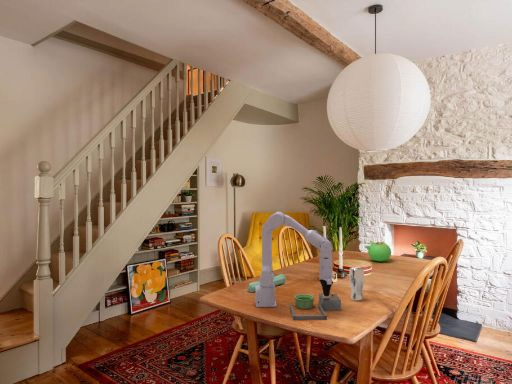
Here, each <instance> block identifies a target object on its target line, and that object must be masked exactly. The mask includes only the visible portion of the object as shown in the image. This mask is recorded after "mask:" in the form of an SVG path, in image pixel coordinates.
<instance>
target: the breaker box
mask: <svg viewBox="0 0 512 384" xmlns="http://www.w3.org/2000/svg"><path fill="white" fill-rule="evenodd" d="M322 295H324V294H323V292H322V293H319V292H318V304H321V306H322V308H323V310H324V311H342V300H341V298H340V297H339V295H338V294H337V293H334V292H331V293H330V294H329V296H330V298H323V297H322Z"/></svg>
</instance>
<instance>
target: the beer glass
mask: <svg viewBox="0 0 512 384" xmlns="http://www.w3.org/2000/svg"><path fill="white" fill-rule="evenodd" d="M348 274H349V275H348V276H349V286H350V291H351V292H350V300H352V301H356V302H361V301H364V296H363V291H364V290H363V289H364V282H365V272H364V267H361V266H351V267H349V273H348Z"/></svg>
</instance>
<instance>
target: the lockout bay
mask: <svg viewBox="0 0 512 384" xmlns="http://www.w3.org/2000/svg"><path fill="white" fill-rule="evenodd" d="M317 306H318V307H317V308H318V309H319V312H320V314H317V315H316V314H314V315H313V314H311V315H308V314H307V315H304V314H303V315H301V314H300V315H299V314H298V315H296V313H295V311H294V307H293V304H289V310H290V314H291V317H292V320H293V321H308V320H309V321H310V320H311V321H315V320H316V321H318V320H319V321H322V320H324V321H325V320H326V321H327V320H328V316H327V314H326V312H325V310H323V308H322V306H321V304H319V303H318V305H317Z"/></svg>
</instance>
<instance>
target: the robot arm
mask: <svg viewBox="0 0 512 384" xmlns="http://www.w3.org/2000/svg"><path fill="white" fill-rule="evenodd" d="M282 225H283V227H290V228H291V229H293V230H295V231H297V233H299V234H301V235H303V236H304V240H305V241H307V242H308V243H309V244H311V245H312V246H314V248H317V249H319V276H318V277H319V278H320V279H319V283H320V285H321V289H322V293H323V294H324V296H329V294H330V292H331V288H332V286H333V284H334V281H333V278H334V279H335V278H336V275H334V274H333V256H332V255H333V249H334V248H333V244H332V242H331V241H330V240H329V239H328V238H326V236H323V235H320V234H319V233H318V231H317V230H316V229H307V228H306V227H305V226H304V225H302V224H300V223H299V222H298V221H297V220H295V219H294V218H293V217H291V216H290V215H288V214H285V213H284V212H282V211H279V210H277V211H275V212H274V213H272V215H270V216H269V217H268V218H267V219H266V221H265V222H264V224H263V226H262V228H261V272H260V277H259V279H258V281H259V282H260V285H259V286H256V292H255V298H254V302H255V308H272V307H273V308H277V303H276V286H275V284H274V283H273V280H274V277H275V273H274V269H273V231H275V230H276V229H277V228H279V227H281V226H282Z"/></svg>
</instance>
